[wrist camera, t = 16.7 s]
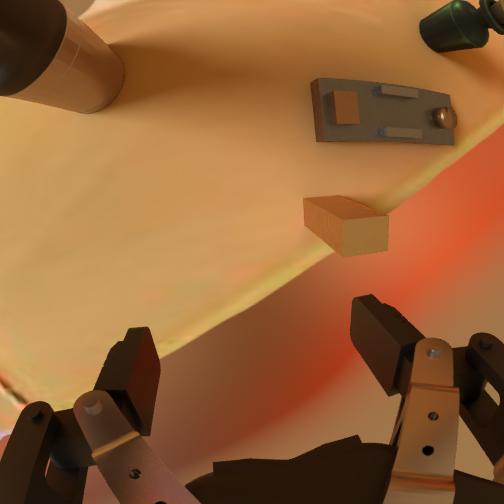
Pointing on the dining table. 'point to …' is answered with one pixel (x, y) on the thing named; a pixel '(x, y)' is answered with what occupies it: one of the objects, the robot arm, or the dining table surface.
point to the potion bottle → (462, 25)
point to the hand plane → (380, 113)
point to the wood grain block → (346, 225)
